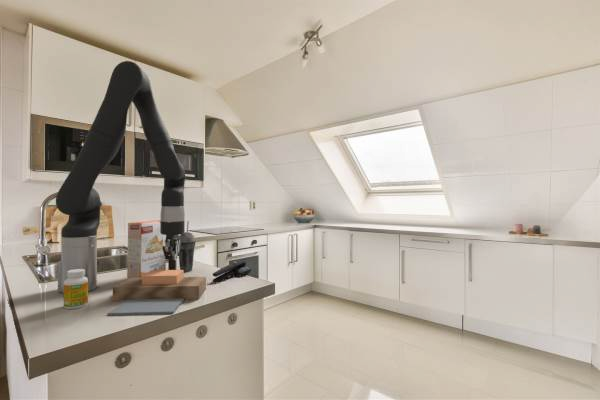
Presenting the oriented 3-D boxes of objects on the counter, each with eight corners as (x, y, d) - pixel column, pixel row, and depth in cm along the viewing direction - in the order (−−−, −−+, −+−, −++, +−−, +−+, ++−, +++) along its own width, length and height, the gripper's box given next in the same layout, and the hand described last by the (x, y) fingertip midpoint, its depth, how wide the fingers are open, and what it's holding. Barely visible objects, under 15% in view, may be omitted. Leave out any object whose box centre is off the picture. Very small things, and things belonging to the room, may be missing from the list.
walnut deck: (112, 301, 87) (112, 287, 86) (128, 290, 96) (128, 277, 96) (198, 299, 89) (198, 285, 89) (205, 289, 99) (206, 276, 99)
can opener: (239, 271, 123) (239, 257, 123) (253, 274, 119) (253, 259, 119) (205, 282, 108) (205, 266, 107) (219, 285, 104) (219, 269, 104)
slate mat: (107, 315, 76) (107, 313, 76) (126, 301, 86) (126, 299, 86) (173, 313, 78) (173, 311, 78) (184, 300, 88) (184, 298, 88)
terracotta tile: (141, 284, 90) (141, 276, 90) (151, 278, 97) (151, 270, 97) (176, 283, 91) (176, 275, 91) (183, 277, 98) (183, 269, 98)
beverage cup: (172, 272, 119) (173, 221, 119) (182, 268, 127) (183, 220, 126) (189, 273, 118) (190, 222, 118) (199, 269, 125) (199, 220, 125)
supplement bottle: (68, 311, 79) (68, 274, 79) (60, 306, 82) (60, 271, 82) (91, 304, 84) (91, 269, 83) (82, 301, 86) (82, 267, 86)
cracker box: (141, 283, 104) (141, 223, 104) (126, 282, 105) (126, 222, 105) (167, 273, 118) (167, 220, 117) (153, 272, 119) (153, 219, 119)
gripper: (167, 218, 108) (167, 266, 108) (153, 221, 95) (153, 276, 95) (189, 218, 109) (188, 266, 109) (178, 221, 96) (178, 276, 96)
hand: (172, 270), depth 102 cm, fingers closed
